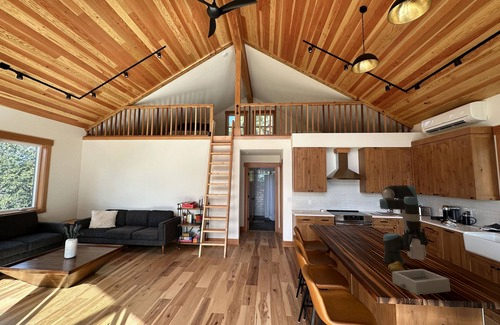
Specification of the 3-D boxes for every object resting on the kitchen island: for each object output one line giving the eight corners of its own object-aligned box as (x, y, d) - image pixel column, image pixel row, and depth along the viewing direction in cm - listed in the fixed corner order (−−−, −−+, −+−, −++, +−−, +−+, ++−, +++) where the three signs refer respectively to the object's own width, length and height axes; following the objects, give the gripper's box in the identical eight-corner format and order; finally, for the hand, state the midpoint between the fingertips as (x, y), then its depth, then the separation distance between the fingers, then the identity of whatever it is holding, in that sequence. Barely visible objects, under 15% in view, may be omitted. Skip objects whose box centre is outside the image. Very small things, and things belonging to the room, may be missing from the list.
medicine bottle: (410, 255, 142) (408, 237, 143) (424, 257, 137) (422, 238, 139) (410, 258, 136) (408, 238, 138) (424, 260, 132) (422, 240, 133)
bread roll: (408, 278, 148) (407, 266, 149) (392, 276, 151) (391, 265, 152) (401, 271, 160) (400, 260, 161) (386, 270, 163) (385, 259, 164)
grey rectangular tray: (390, 283, 141) (389, 271, 142) (423, 279, 145) (421, 268, 146) (414, 295, 124) (413, 282, 125) (450, 291, 129) (448, 278, 129)
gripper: (403, 222, 134) (407, 259, 131) (432, 220, 138) (437, 256, 135) (393, 220, 142) (397, 255, 139) (421, 219, 146) (425, 253, 143)
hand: (416, 256), depth 137 cm, fingers closed on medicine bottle, 10 cm apart
